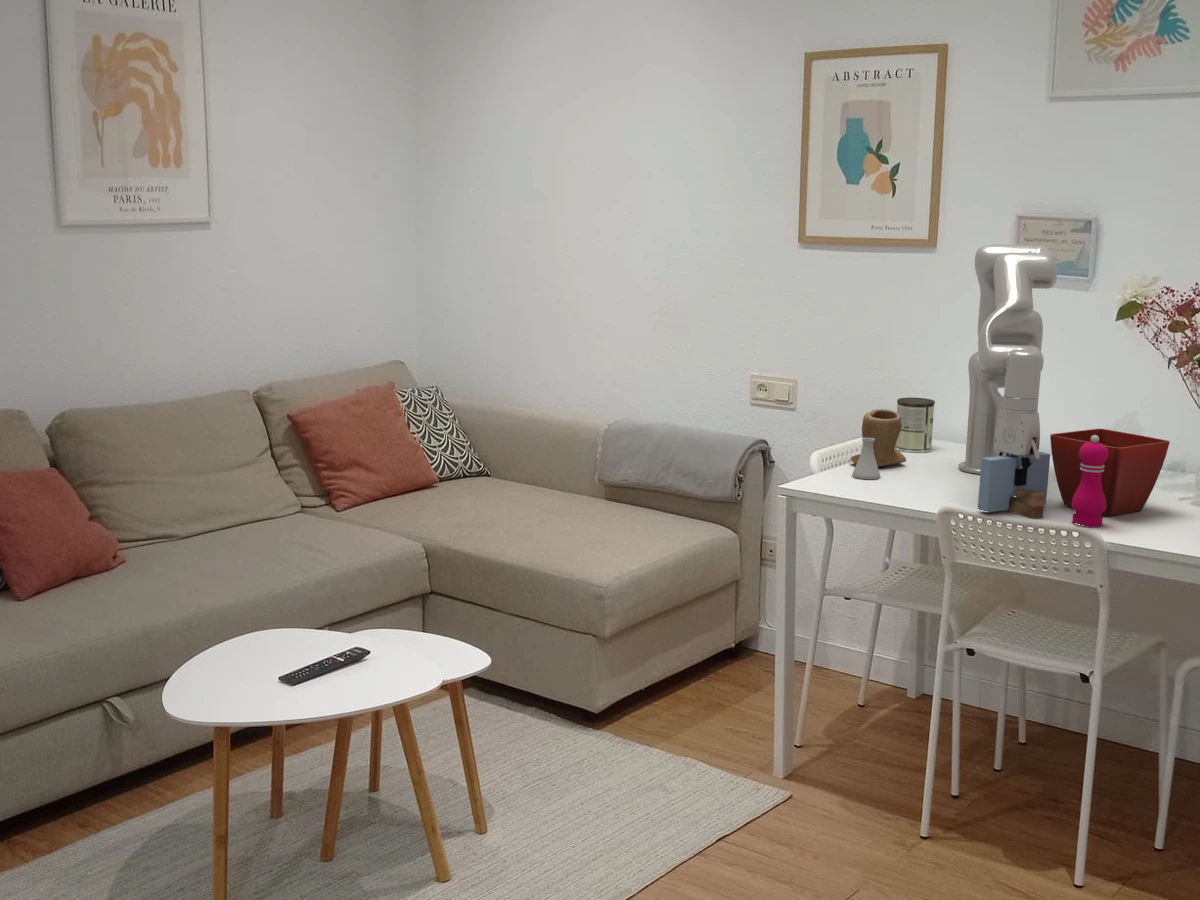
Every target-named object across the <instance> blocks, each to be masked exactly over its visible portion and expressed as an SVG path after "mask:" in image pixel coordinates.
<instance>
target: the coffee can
mask: <svg viewBox="0 0 1200 900" xmlns="http://www.w3.org/2000/svg"><path fill="white" fill-rule="evenodd" d="M896 402H897V405H896V412H897V413H898V414H899V415H900V416H901V431H900V434H899V436H898V439H897V442H896V445H895V449H898V450H899V451H900V452H903V453H904V452H905V453H913V454H914V453H915V454H923V453H930V452H931V451H932V450H933V449H932V442H933V429H934V428H933V427H934V414H935V413H934V411H935V404H936V403H935V402H936V401H935V400H933V399H931V398H925V397H924V398H923V397H900V398H898V399H897V400H896Z"/></svg>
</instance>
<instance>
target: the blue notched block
mask: <svg viewBox="0 0 1200 900" xmlns="http://www.w3.org/2000/svg"><path fill="white" fill-rule="evenodd" d="M1038 453H1039V457H1040V460H1039V461H1036V462H1034V463H1033V464H1032V465H1030V468H1028V470H1027V482H1026V485H1021V486H1015V485H1014V481H1015V469H1016V468H1018V456H1015V455H1010V454H1009V455H1005V456H995V457H985V458H981V471H980V474H979V486H978V498H977V499H978V500H977V501H978V502H977V510H978V509H979V510H978V511H981V510H983V511H982V512H984V511H988V512H987V513H992V512H1000V511H1007V510H1009V499H1010V496H1013V497H1017V490H1018V489H1031V490H1034V491H1038V492H1041V493H1045V499H1044V506H1045V505H1047V496H1048V485H1049V472H1050V463H1051V461H1050V460H1051V453H1047V452H1045V451H1044V452H1043V451H1038ZM1030 457H1031V455H1030ZM1024 460H1025V458H1023V461H1024Z"/></svg>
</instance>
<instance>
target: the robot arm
mask: <svg viewBox="0 0 1200 900" xmlns="http://www.w3.org/2000/svg"><path fill="white" fill-rule="evenodd" d="M974 270H975V274H976V278H977V281H978V284H979V285H978V286H979V289H980V291H979V294H980V297H979V307H978V321H977V348H978V351H976V352H974V353H973V354H972V355H971V356H970V357H969V360H968V366H967V367H968V369H967V370H968V380H969V381H968V382H969V399H968V400H969V401H968V403H969V404H968V415H967V416H968V417H967V418H968V420H967V431H966V444H965V445H966V446H965V459H964V461H962V462H960V463H958V470H960V471H962V472H966V473H970V474H977V475H980V471H981V458H985V457H995V456H1005V455H1015V456H1018V468H1016V469H1015V481H1014V485H1015V486H1021V485H1026V482H1027V470H1028V468H1030V465H1032V464H1033V463H1034V462H1036V461H1039V460H1040V457H1039V453H1038V452H1040V451H1039V450H1040V443H1041V442H1040V441H1041V439H1040V438H1041V425H1040V424H1041V422H1040V413H1039V412H1038V410H1039V409H1038V408H1039V398H1040V397H1039V396H1040V387H1041V386H1040V385H1041V372H1042V371H1043V369H1044V361H1045V360H1044V359H1045V358H1044V354H1043V353H1042V345H1043V335H1044V334H1043V333H1044V332H1043V330H1044V326H1043V325H1044V324H1043V323H1044V322H1043V319H1042V318H1043V317H1042V316H1041V314H1040V313H1039V312H1038V311H1036V310H1034V299H1033V289H1042V290H1043V289H1051V288H1053V287H1054V285H1055V283H1056V281H1057V278H1058V265H1057V261H1056V258H1055V256H1054V254H1052V251H1050V250H1049V249H1048V248H1047V247H1046V246H1043V245H1033V244H1032V245H1030V244H1028V245H1027V244H1026V245H1025V244H987V245H983V246H981V247H979V248H978V249H977V250H976V252H975V255H974ZM1003 388H1004V390H1003V395H1002V394H1001V392H1000V391H999V390H998V389H1003ZM1030 455H1031V457H1030ZM1023 458H1025V460H1024V461H1023Z"/></svg>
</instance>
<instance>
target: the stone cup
mask: <svg viewBox="0 0 1200 900" xmlns="http://www.w3.org/2000/svg"><path fill="white" fill-rule="evenodd" d="M900 431H901V416H900V415H899V414H898V413H897V411H895V410H891V409H886V408H885V409H884V408H876V409H873V410H871V411H867V412H866V413H865V414H864V416H863V418H862V425H861V437H862V438H874V439H875V441H874V443H873V449H874V456H875V459H876V463H877V466H878V468H879V467H886V466H891V465H898V464H902V463H906V462H907V458H906V457H905V456H904V453H902V452H901V451H899V450H897V449H895V445H896V442H897V439H898V436H899V434H900ZM860 455H861V453H860V454H856V455H853V456H850V461H851V462H852V463H853V464H855V465H856V464H857V462H858V460H859V457H860Z"/></svg>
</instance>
